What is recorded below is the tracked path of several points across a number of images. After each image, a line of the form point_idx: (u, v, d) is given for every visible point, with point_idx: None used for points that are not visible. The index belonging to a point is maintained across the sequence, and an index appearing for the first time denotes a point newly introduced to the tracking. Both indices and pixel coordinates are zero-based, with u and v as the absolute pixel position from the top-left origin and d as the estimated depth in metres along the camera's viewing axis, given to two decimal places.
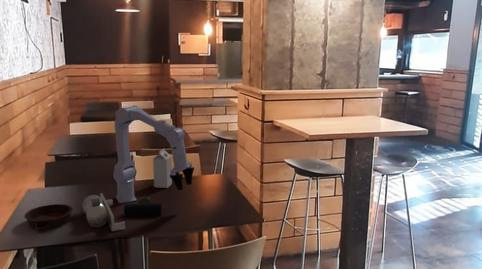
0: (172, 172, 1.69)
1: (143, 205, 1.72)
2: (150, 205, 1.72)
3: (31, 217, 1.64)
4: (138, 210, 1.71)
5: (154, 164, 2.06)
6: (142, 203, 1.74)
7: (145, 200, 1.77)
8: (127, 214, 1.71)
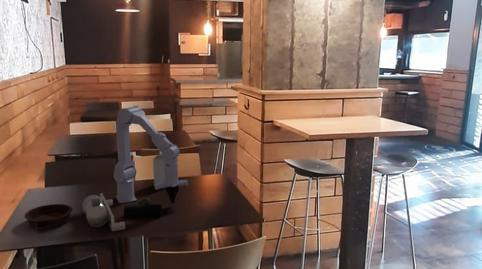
0: (155, 186, 1.77)
1: (143, 206, 1.71)
2: (150, 206, 1.71)
3: (31, 217, 1.64)
4: (138, 211, 1.70)
5: (154, 164, 2.06)
6: (142, 204, 1.73)
7: (145, 201, 1.76)
8: (127, 216, 1.70)
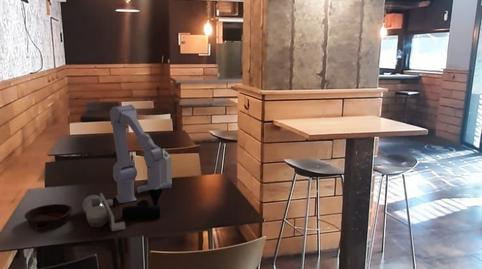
0: (137, 189, 1.74)
1: (141, 207, 1.69)
2: (149, 207, 1.70)
3: (31, 217, 1.64)
4: (136, 212, 1.68)
5: None
6: (140, 205, 1.71)
7: (143, 202, 1.74)
8: (126, 217, 1.68)
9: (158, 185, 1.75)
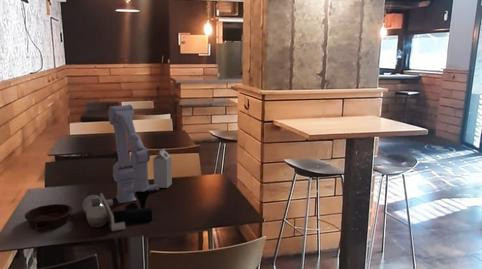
0: (124, 191, 1.72)
1: (133, 211, 1.66)
2: (140, 210, 1.67)
3: (31, 217, 1.64)
4: (128, 216, 1.64)
5: (154, 164, 2.06)
6: (131, 209, 1.67)
7: (133, 206, 1.71)
8: (117, 222, 1.63)
9: (145, 187, 1.73)
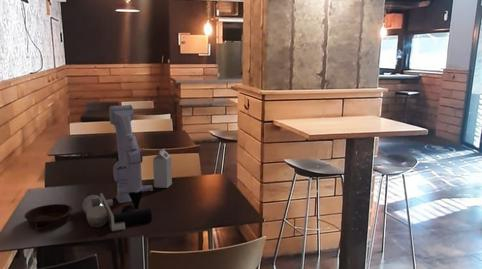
0: (117, 192, 1.70)
1: (132, 213, 1.64)
2: (139, 212, 1.65)
3: (31, 217, 1.64)
4: (128, 219, 1.62)
5: (154, 164, 2.06)
6: (130, 211, 1.65)
7: (130, 208, 1.68)
8: None
9: (138, 188, 1.72)
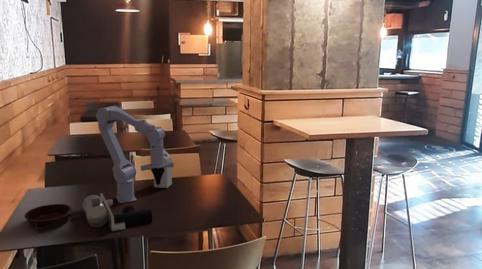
0: (141, 167, 1.79)
1: (133, 214, 1.63)
2: (140, 213, 1.64)
3: (31, 217, 1.64)
4: (129, 219, 1.62)
5: None
6: (130, 212, 1.65)
7: (131, 208, 1.68)
8: None
9: (161, 164, 1.80)
